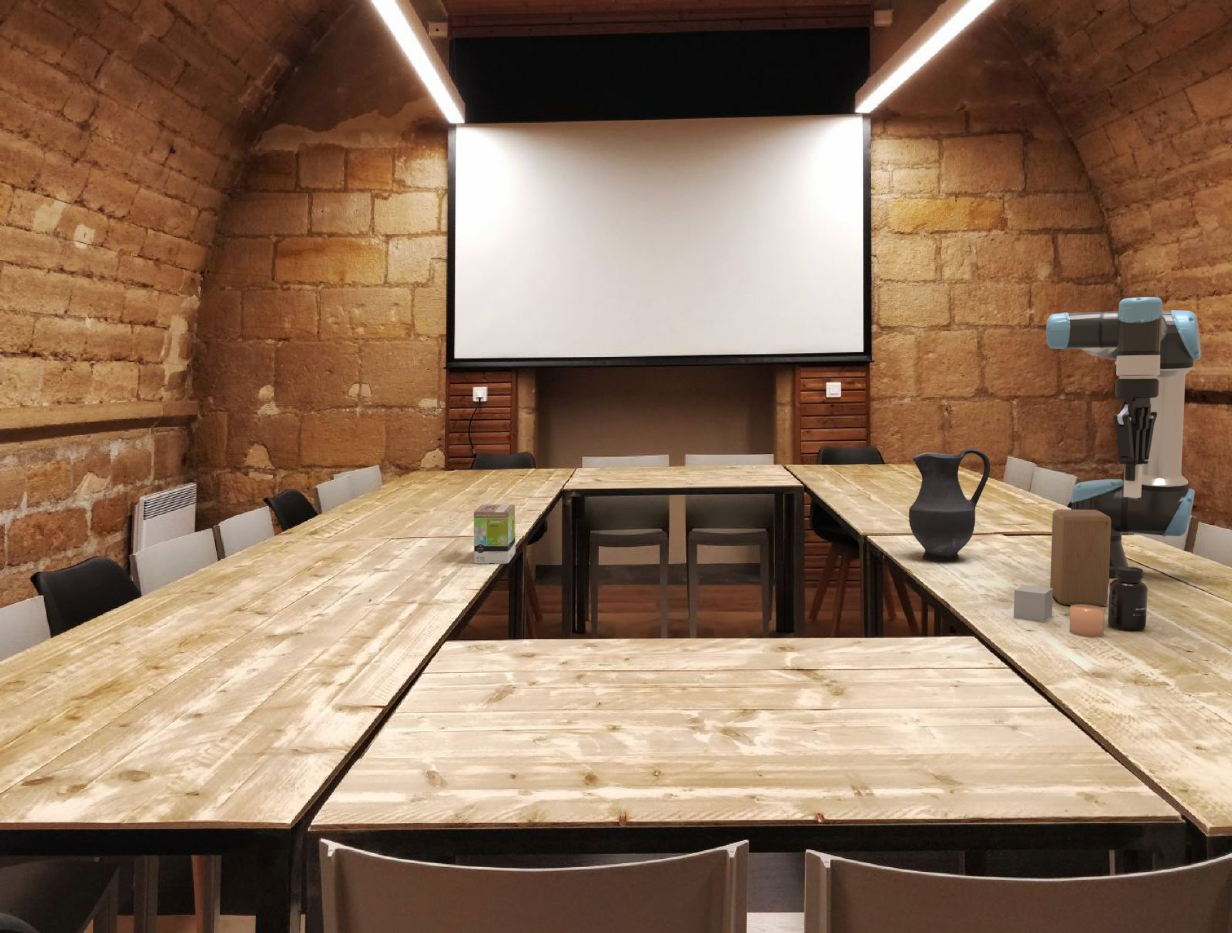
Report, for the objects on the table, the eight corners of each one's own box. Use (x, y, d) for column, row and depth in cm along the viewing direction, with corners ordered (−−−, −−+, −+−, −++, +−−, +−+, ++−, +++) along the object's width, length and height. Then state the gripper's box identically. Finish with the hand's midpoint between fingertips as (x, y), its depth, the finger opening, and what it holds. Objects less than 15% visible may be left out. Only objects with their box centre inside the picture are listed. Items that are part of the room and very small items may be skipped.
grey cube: (1022, 612, 207) (1023, 584, 206) (1051, 616, 203) (1052, 588, 202) (1013, 618, 202) (1014, 589, 202) (1043, 622, 198) (1044, 593, 198)
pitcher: (903, 552, 273) (905, 446, 269) (980, 552, 270) (983, 446, 267) (913, 564, 256) (915, 452, 252) (995, 565, 253) (998, 451, 250)
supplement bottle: (1144, 633, 189) (1147, 573, 188) (1106, 628, 193) (1108, 569, 192) (1147, 625, 195) (1149, 566, 194) (1109, 620, 199) (1111, 563, 197)
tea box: (510, 564, 264) (508, 510, 263) (473, 564, 265) (471, 511, 263) (516, 553, 279) (515, 503, 278) (481, 553, 280) (480, 503, 278)
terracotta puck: (1079, 626, 195) (1080, 602, 194) (1109, 633, 190) (1110, 608, 189) (1063, 632, 191) (1064, 607, 191) (1093, 638, 186) (1094, 613, 186)
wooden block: (1109, 607, 209) (1112, 516, 207) (1059, 605, 211) (1062, 515, 209) (1095, 596, 219) (1099, 509, 217) (1048, 594, 221) (1051, 508, 219)
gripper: (1133, 376, 195) (1129, 492, 198) (1101, 378, 188) (1096, 498, 190) (1173, 376, 189) (1167, 495, 192) (1140, 378, 182) (1135, 502, 184)
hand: (1132, 496), depth 191 cm, fingers closed
